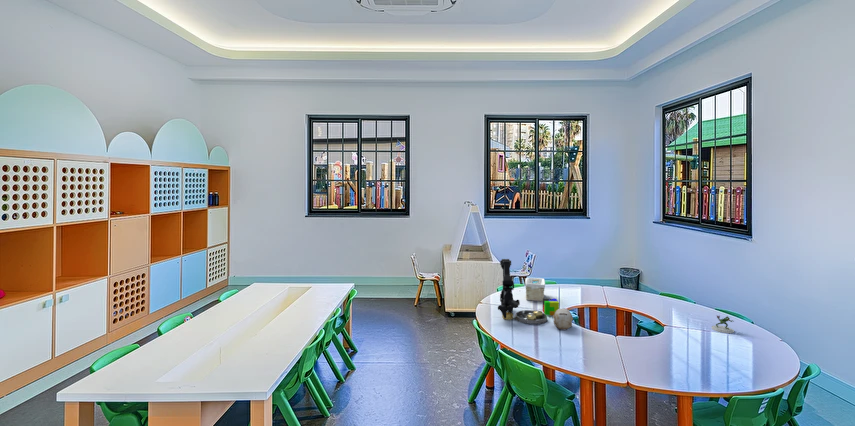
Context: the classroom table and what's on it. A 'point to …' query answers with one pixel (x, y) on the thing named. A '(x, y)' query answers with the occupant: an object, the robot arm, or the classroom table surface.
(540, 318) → the tray
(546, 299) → the puzzle toy
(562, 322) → the coin bank
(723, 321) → the monster figurine
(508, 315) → the planet gear
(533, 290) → the storage basket
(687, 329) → the classroom table surface
